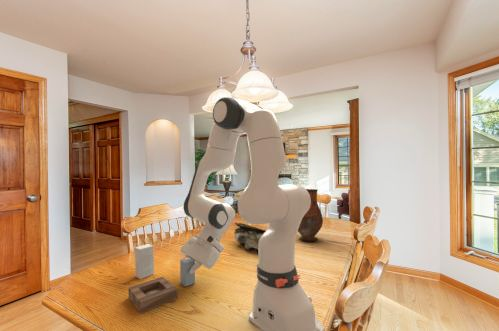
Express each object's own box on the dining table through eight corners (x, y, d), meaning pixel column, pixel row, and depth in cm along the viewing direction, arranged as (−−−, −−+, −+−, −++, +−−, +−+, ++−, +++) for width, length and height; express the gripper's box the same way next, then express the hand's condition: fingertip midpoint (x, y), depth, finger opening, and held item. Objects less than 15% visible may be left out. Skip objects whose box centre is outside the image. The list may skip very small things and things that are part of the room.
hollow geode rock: (236, 249, 145) (220, 234, 138) (247, 231, 151) (233, 216, 144) (270, 262, 124) (254, 245, 117) (282, 240, 130) (268, 223, 123)
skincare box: (148, 271, 106) (148, 243, 105) (154, 274, 103) (153, 245, 103) (134, 276, 101) (134, 247, 101) (139, 279, 98) (139, 249, 98)
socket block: (177, 298, 84) (177, 288, 84) (140, 313, 76) (140, 302, 76) (162, 285, 93) (162, 276, 93) (128, 297, 85) (128, 287, 85)
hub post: (195, 283, 95) (194, 258, 95) (185, 286, 92) (185, 261, 92) (189, 279, 98) (189, 256, 98) (180, 282, 95) (180, 258, 95)
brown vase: (328, 240, 146) (328, 189, 146) (305, 248, 133) (305, 192, 133) (306, 233, 159) (306, 187, 159) (282, 240, 146) (282, 189, 146)
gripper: (189, 230, 107) (168, 258, 101) (217, 240, 92) (194, 275, 86) (199, 238, 110) (178, 266, 104) (227, 250, 95) (205, 283, 89)
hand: (186, 270), depth 95 cm, fingers closed on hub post, 4 cm apart
